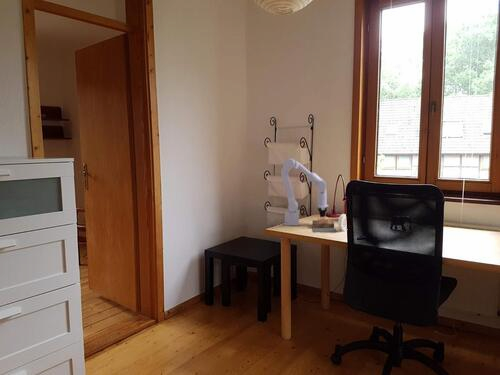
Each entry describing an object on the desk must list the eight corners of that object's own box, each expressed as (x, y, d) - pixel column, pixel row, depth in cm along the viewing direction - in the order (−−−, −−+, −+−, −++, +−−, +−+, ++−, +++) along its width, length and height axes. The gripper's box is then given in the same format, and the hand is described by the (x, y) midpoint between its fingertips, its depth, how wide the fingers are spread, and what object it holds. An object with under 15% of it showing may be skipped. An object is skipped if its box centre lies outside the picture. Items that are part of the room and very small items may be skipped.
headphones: (341, 232, 232) (341, 215, 231) (338, 231, 234) (338, 215, 233) (358, 226, 249) (358, 210, 248) (354, 225, 250) (354, 210, 249)
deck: (313, 228, 245) (313, 223, 245) (312, 224, 256) (312, 220, 256) (334, 228, 244) (334, 223, 243) (332, 224, 255) (332, 220, 254)
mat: (313, 232, 235) (313, 231, 235) (312, 228, 244) (312, 228, 244) (336, 232, 233) (336, 231, 233) (335, 228, 243) (335, 228, 243)
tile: (318, 223, 246) (318, 219, 246) (317, 220, 255) (317, 216, 255) (328, 223, 245) (328, 219, 245) (327, 220, 254) (327, 216, 254)
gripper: (329, 200, 247) (329, 221, 248) (327, 197, 261) (327, 217, 263) (318, 200, 248) (318, 221, 249) (316, 197, 262) (317, 217, 264)
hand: (322, 219), depth 256 cm, fingers closed
